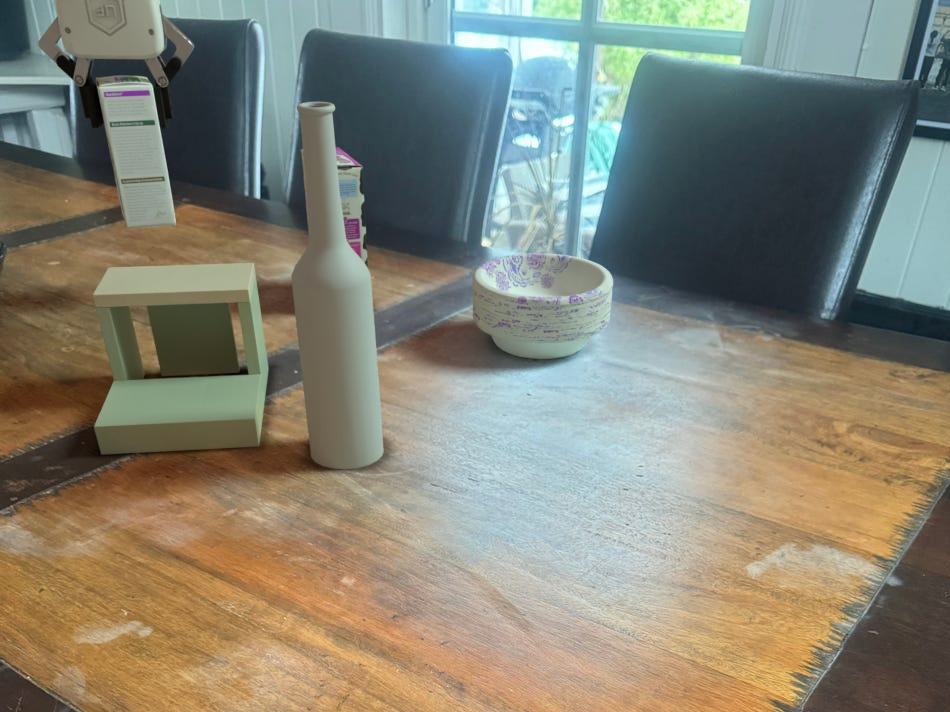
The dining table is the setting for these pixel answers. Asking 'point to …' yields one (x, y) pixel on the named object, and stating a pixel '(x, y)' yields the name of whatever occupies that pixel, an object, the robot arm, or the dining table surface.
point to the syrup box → (136, 150)
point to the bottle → (334, 315)
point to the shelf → (182, 359)
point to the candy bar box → (349, 201)
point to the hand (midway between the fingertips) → (131, 124)
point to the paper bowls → (541, 303)
